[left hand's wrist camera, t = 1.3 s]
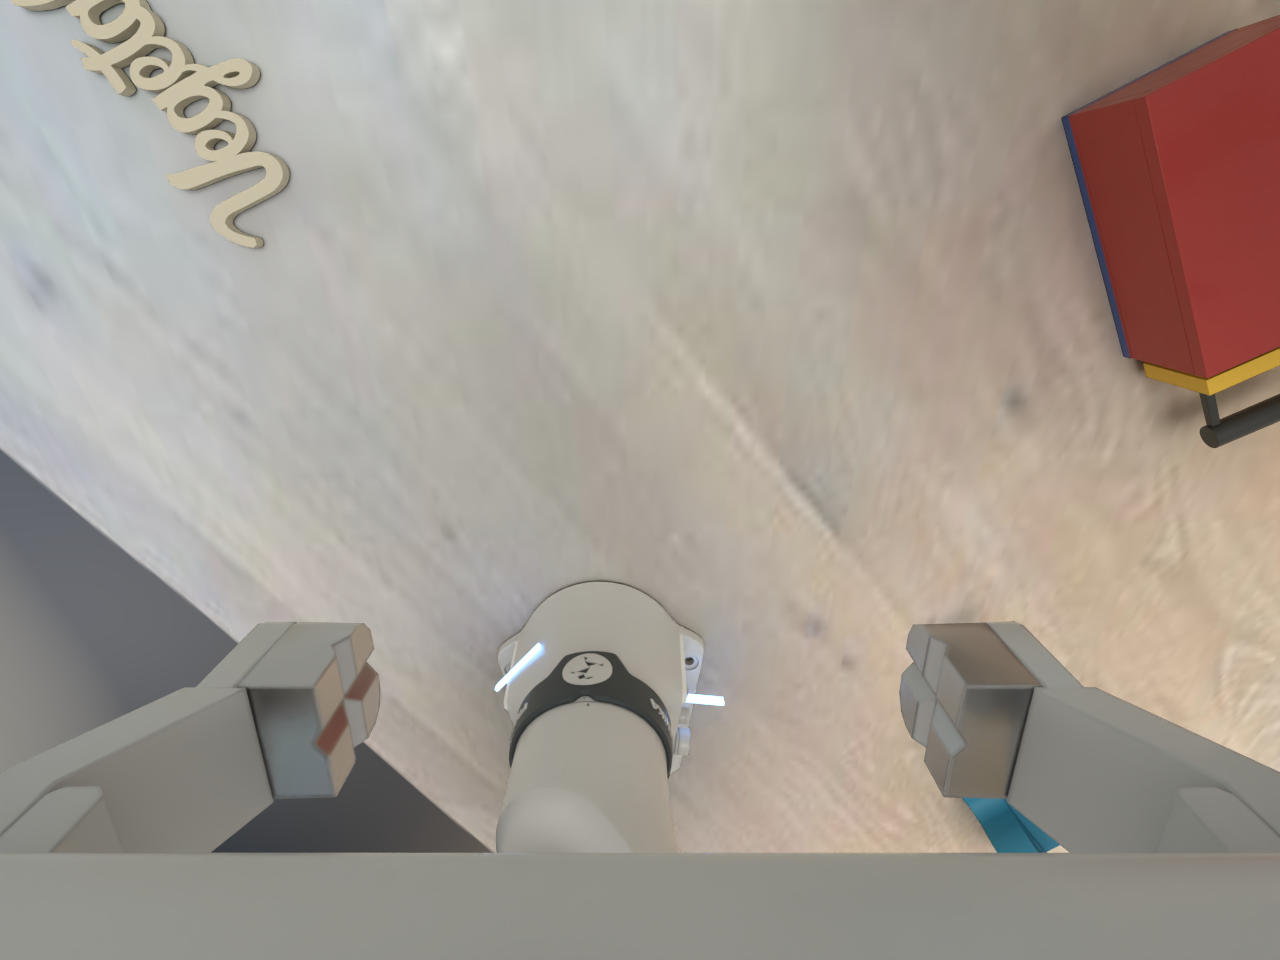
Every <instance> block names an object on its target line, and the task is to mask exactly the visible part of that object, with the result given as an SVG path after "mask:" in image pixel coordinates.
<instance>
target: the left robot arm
mask: <svg viewBox="0 0 1280 960" xmlns="http://www.w3.org/2000/svg"><path fill="white" fill-rule="evenodd" d="M373 650H374V646H373V641H372V636H371V631H370V629H369V628H368V627H367V626H366V625H365V624H364V623H318V622H299V623H297V622H265V623H261V624H257V625H256V627H255V628H254V629H253V630H252V631H251V632H250V633H249V634H248V635H247V636H246V637H245V638H244V639H243V640H242V641H241V642H240V643H239V644H238V645H237V646H236V647H235V648H234V649H233V650H232V651H231V652H230V653H229V654H228V655H227V656H226V657H225V658H224V659H223V660H222V661H221V662H220V663H219V664H218V665H217V666H216V667H215V668H214V669H213V670H212V671H211V672H210V673H209V674H208V675H207V676H206V677H205V679H204V680H203V681H202V682H201V683H200V684H199V685H198V686H197V687H186V688H182V689H180V690H178V691H176V692H174V693H171V694H169V695H167V696H165V697H163V698H161V699H158V700H156V701H154V702H152V703H150V704H147V705H145V706H143V707H141V708H139V709H137V710H134V711H132V712H130V713H128V714H126V715H123V716H121V717H119V718H117V719H115V720H113V721H110V722H108V723H106V724H104V725H102V726H99V727H97V728H95V729H93V730H91V731H89V732H86V733H84V734H82V735H80V736H78V737H75V738H73V739H71V740H69V741H67V742H65V743H62V744H60V745H58V746H56V747H54V748H52V749H49V750H47V751H45V752H43V753H41V754H38V755H36V756H34V757H32V758H30V759H28V760H25V761H23V762H21V763H19V764H17V765H14V766H12V767H10V768H8V769H6V770H4V771H1V772H0V960H1280V772H1278V771H1276V770H1274V769H1272V768H1269V767H1267V766H1265V765H1263V764H1261V763H1259V762H1256V761H1254V760H1252V759H1250V758H1248V757H1246V756H1243V755H1241V754H1239V753H1237V752H1235V751H1233V750H1230V749H1228V748H1226V747H1224V746H1222V745H1219V744H1217V743H1215V742H1213V741H1211V740H1209V739H1206V738H1204V737H1202V736H1200V735H1198V734H1196V733H1193V732H1191V731H1189V730H1187V729H1185V728H1182V727H1180V726H1178V725H1176V724H1174V723H1172V722H1169V721H1167V720H1165V719H1163V718H1161V717H1159V716H1156V715H1154V714H1152V713H1150V712H1148V711H1146V710H1143V709H1141V708H1139V707H1137V706H1135V705H1132V704H1130V703H1128V702H1126V701H1124V700H1122V699H1119V698H1117V697H1115V696H1113V695H1111V694H1109V693H1106V692H1104V691H1102V690H1100V689H1098V688H1095V687H1083V686H1082V685H1081V684H1080V683H1079V682H1078V680H1077V679H1076V678H1075V677H1074V676H1073V675H1072V674H1071V673H1070V672H1069V671H1068V670H1067V669H1066V668H1065V667H1064V666H1063V665H1062V664H1061V663H1060V662H1059V661H1058V660H1057V659H1056V658H1055V657H1054V656H1053V655H1052V654H1051V653H1050V652H1049V651H1048V650H1047V649H1046V648H1045V647H1044V646H1043V645H1042V644H1041V643H1040V642H1039V641H1038V640H1037V639H1036V638H1035V637H1034V636H1033V634H1032V633H1031V632H1030V631H1029V630H1028V629H1027V628H1026V627H1025V626H1024V625H1022V624H1019V623H1017V622H1014V621H1012V622H985V623H956V624H917V625H913V626H912V628H911V630H910V632H909V634H908V640H907V645H906V650H907V651H908V653H909V654H910V656H911V658H912V659H913V661H914V662H913V663H912V664H911V665H910V666H909V667H908V668H907V669H906V670H905V671H904V672H903V673H902V677H901V685H900V704H901V712H902V716H903V719H904V722H905V725H906V727H907V729H908V731H909V733H910V735H911V737H912V738H913V739H914V740H916V741H917V742H918V743H920V744H921V745H923V746H924V747H926V753H925V759H924V762H925V763H926V765H927V767H928V769H929V771H930V773H931V774H932V776H933V778H934V780H935V782H936V784H937V786H938V787H939V789H940V791H941V793H942V795H943V797H955V798H991V799H1007V801H1006V802H1007V803H1009V804H1010V805H1011V806H1012V807H1014V808H1015V809H1016V810H1017V811H1019V812H1020V813H1021V814H1022V815H1024V816H1025V817H1026V818H1027V819H1029V820H1030V821H1031V822H1032V823H1034V824H1035V825H1036V826H1037V827H1039V828H1040V829H1041V830H1042V831H1043V832H1045V833H1046V834H1047V835H1048V836H1050V837H1051V838H1052V839H1053V840H1055V841H1056V842H1057V843H1058V844H1060V845H1061V846H1062V847H1063V848H1065V849H1066V850H1067V851H1068V852H1070V853H681V851H680V849H679V846H678V844H677V840H676V837H675V832H674V826H673V820H672V814H671V808H670V800H669V790H668V778H669V775H670V774H671V773H673V772H674V771H676V770H677V769H678V768H679V767H680V764H681V760H682V756H686V755H689V751H690V742H691V733H690V729H688V727H689V722H690V718H691V713H692V708H693V703H699V704H710V705H721V706H724V698H723V697H718V696H707V695H696V689H697V684H698V679H699V675H700V670H701V665H702V660H703V656H704V642H703V640H702V639H701V638H700V637H699V636H698V635H697V634H695V633H693V632H692V631H690V630H688V629H686V628H684V627H682V626H680V625H678V624H677V623H676V622H675V621H674V620H673V619H672V618H671V617H670V616H669V614H668V613H667V612H666V611H665V610H664V609H663V607H662V606H661V605H660V604H658V603H657V602H656V601H655V600H654V599H652V598H651V597H649V596H648V595H646V594H645V593H643V592H641V591H639V590H637V589H634V588H632V587H629V586H626V585H622V584H618V583H612V582H587V583H581V584H577V585H573V586H570V587H567V588H565V589H562V590H560V591H558V592H557V593H555V594H553V595H552V596H550V597H549V598H547V599H546V600H545V601H544V602H543V603H542V604H541V605H540V606H539V607H538V608H537V609H536V610H535V611H534V613H533V614H532V616H531V617H530V619H529V620H528V622H527V624H526V625H525V627H524V628H523V629H522V630H521V632H519V633H518V634H516V635H514V636H513V637H511V638H510V639H508V640H507V641H506V642H504V643H503V644H502V645H501V647H500V648H499V651H498V663H499V666H500V668H501V671H502V674H503V676H504V678H503V679H502V680H501V681H500V682H499V683H498V684H497V685H496V687H495V690H496V691H497V692H498V691H499V690H500V689H501V688H502V687H503V686H504V685H505V684H507V686H506V691H505V696H504V709H505V710H507V711H508V713H509V716H510V719H511V721H512V723H513V729H512V733H511V739H510V753H509V761H510V767H511V770H510V774H509V779H508V783H507V787H506V791H505V795H504V800H503V804H502V808H501V812H500V817H499V821H498V825H497V831H496V849H497V853H210V852H212V851H213V850H214V849H215V848H217V847H218V846H219V845H220V844H222V843H223V842H224V841H225V840H227V839H228V838H229V837H230V836H232V835H233V834H234V833H236V832H237V831H238V830H239V829H241V828H242V827H243V826H244V825H245V824H247V823H248V822H249V821H251V820H252V819H253V818H254V817H255V816H257V815H258V814H259V813H260V812H262V811H263V810H264V809H265V808H267V807H268V806H269V805H270V804H272V803H273V799H289V798H324V797H337V795H338V793H339V791H340V789H341V787H342V786H343V784H344V782H345V780H346V778H347V776H348V774H349V773H350V771H351V769H352V767H353V765H354V763H355V762H356V759H355V753H354V747H356V746H357V745H359V744H360V743H362V742H363V741H364V740H366V739H367V738H368V737H369V735H370V733H371V731H372V729H373V727H374V725H375V723H376V719H377V715H378V710H379V706H380V683H379V676H378V673H377V672H376V671H375V670H374V669H373V668H372V667H371V666H370V665H369V664H368V663H367V662H366V661H367V659H368V658H369V656H370V654H371V653H372V651H373ZM688 657H691V658H693V659H692V660H685V659H686V658H688Z"/></svg>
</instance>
